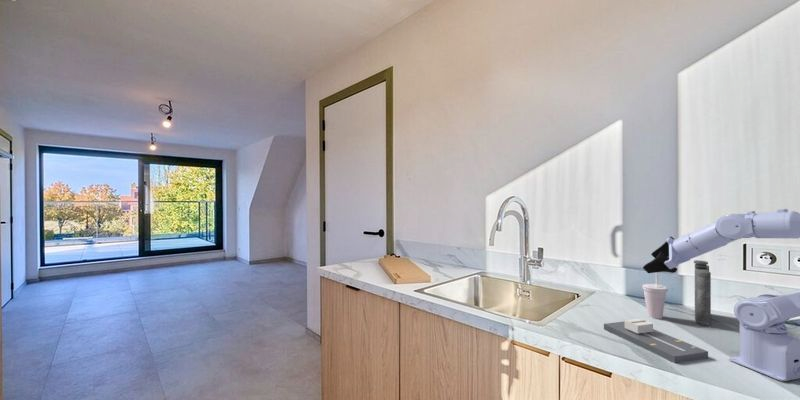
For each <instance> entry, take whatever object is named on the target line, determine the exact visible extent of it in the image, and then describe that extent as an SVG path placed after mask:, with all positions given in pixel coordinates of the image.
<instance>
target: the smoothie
mask: <svg viewBox="0 0 800 400" xmlns="http://www.w3.org/2000/svg"><path fill="white" fill-rule="evenodd" d="M658 275H659V272H656V273H655V283H643V284H642V287H641V288H642V289H643V293H644V302H645V308H646V313H647V317H648V318H651V317H652V319H656V320H661V319H663V316H664V315H663V314H664V311H665V310H664V308H665V302H666V297H667V295H666V294H667V292H668V287H667V286H665V285H662V284H659V282H658V281H659V276H658Z"/></svg>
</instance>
